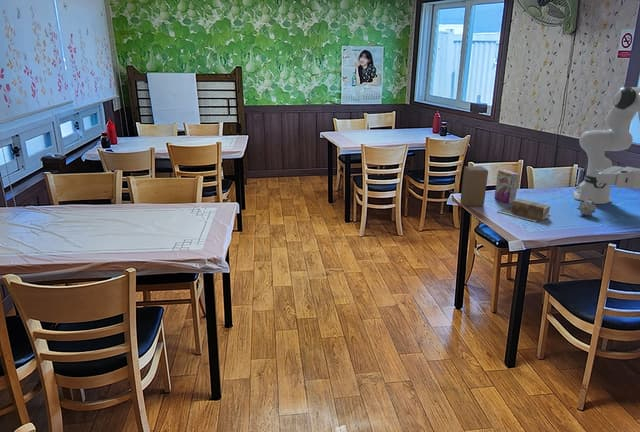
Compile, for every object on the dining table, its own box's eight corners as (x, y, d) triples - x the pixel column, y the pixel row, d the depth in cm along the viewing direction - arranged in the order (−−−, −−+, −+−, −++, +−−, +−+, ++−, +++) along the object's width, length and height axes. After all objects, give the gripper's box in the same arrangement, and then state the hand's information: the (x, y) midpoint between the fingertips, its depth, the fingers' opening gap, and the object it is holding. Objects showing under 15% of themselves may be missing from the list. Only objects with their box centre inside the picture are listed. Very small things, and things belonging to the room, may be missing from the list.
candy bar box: (493, 198, 256) (497, 169, 251) (500, 197, 258) (504, 169, 252) (508, 204, 246) (512, 174, 241) (515, 203, 248) (519, 173, 243)
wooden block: (477, 201, 251) (482, 165, 244) (484, 206, 242) (489, 170, 235) (459, 201, 251) (463, 165, 244) (465, 206, 241) (470, 170, 235)
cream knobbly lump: (588, 222, 230) (602, 211, 222) (572, 216, 231) (585, 204, 222) (588, 210, 235) (602, 198, 227) (573, 203, 236) (586, 192, 228)
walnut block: (550, 205, 223) (518, 198, 235) (544, 208, 220) (513, 200, 231) (547, 217, 225) (516, 209, 237) (542, 219, 222) (511, 211, 233)
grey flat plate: (550, 215, 229) (550, 214, 229) (535, 222, 220) (535, 221, 219) (512, 205, 244) (512, 204, 243) (496, 212, 234) (497, 211, 234)
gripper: (637, 166, 202) (603, 160, 212) (621, 174, 189) (586, 167, 199) (634, 179, 204) (600, 173, 214) (618, 188, 192) (583, 181, 201)
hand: (593, 170), depth 206 cm, fingers closed
